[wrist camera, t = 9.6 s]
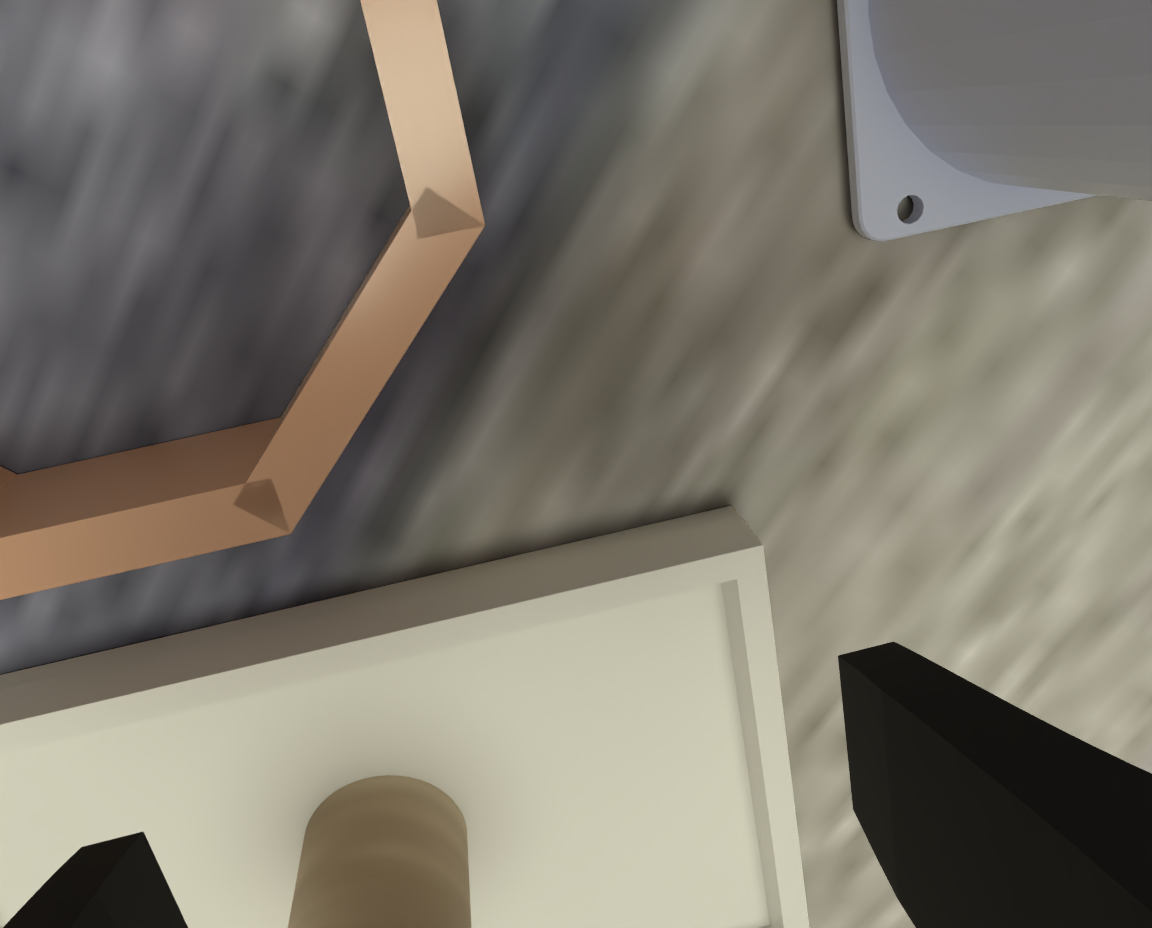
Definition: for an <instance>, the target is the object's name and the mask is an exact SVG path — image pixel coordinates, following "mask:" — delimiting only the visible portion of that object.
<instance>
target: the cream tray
mask: <svg viewBox="0 0 1152 928" xmlns="http://www.w3.org/2000/svg"><path fill="white" fill-rule="evenodd" d="M386 775H394V776H405V777H411V778H415V779H419V780H422V781H424V782H427V783H430V784H432V785H433V786H435V787H437V788H439V789H440V790H442V791H443V792H444V793H446V794H447V795H448V796H449V797H450V798H451V799H452V800H453V801H454V802H455V803H456V805H457V806H458V807H459V809H460V811H461V813H462V814H463V817H464V820H465V823H466V828H467V842H468V863H469V885H470V907H471V928H809V921H808V912H807V904H806V896H805V887H804V879H803V871H802V863H801V854H800V846H799V838H798V830H797V821H796V813H795V805H794V797H793V788H792V780H791V772H790V764H789V755H788V747H787V739H786V731H785V722H784V714H783V706H782V698H781V689H780V681H779V673H778V665H777V656H776V648H775V640H774V631H773V623H772V615H771V607H770V598H769V590H768V582H767V574H766V565H765V557H764V549H763V544H762V543H761V542H760V541H759V539H758V538H757V537H756V535H755V534H754V533H753V532H752V530H751V529H750V528H749V526H748V525H747V524H746V523H745V521H744V520H743V519H742V517H741V516H740V515H739V514H738V512H737V511H736V510H735V508H734V507H733V506H727V507H723V508H719V509H714V510H710V511H706V512H702V513H697V514H693V515H689V516H684V517H680V518H676V519H671V520H667V521H663V522H658V523H654V524H650V525H645V526H641V527H637V528H633V529H628V530H624V531H620V532H615V533H611V534H607V535H602V536H598V537H594V538H589V539H585V540H581V541H576V542H572V543H568V544H563V545H559V546H555V547H551V548H546V549H542V550H538V551H533V552H529V553H525V554H520V555H516V556H512V557H507V558H503V559H499V560H494V561H490V562H486V563H482V564H477V565H473V566H469V567H464V568H460V569H456V570H451V571H447V572H443V573H438V574H434V575H430V576H425V577H421V578H417V579H412V580H408V581H404V582H400V583H395V584H391V585H387V586H382V587H378V588H374V589H369V590H365V591H361V592H356V593H352V594H348V595H343V596H339V597H335V598H331V599H326V600H322V601H318V602H313V603H309V604H305V605H300V606H296V607H292V608H287V609H283V610H279V611H274V612H270V613H266V614H262V615H257V616H253V617H249V618H244V619H240V620H236V621H231V622H227V623H223V624H218V625H214V626H210V627H205V628H201V629H197V630H192V631H188V632H184V633H180V634H175V635H171V636H167V637H162V638H158V639H154V640H149V641H145V642H141V643H136V644H132V645H128V646H123V647H119V648H115V649H111V650H106V651H102V652H98V653H93V654H89V655H85V656H80V657H76V658H72V659H67V660H63V661H59V662H54V663H50V664H46V665H41V666H37V667H33V668H29V669H24V670H20V671H16V672H11V673H7V674H3V675H0V928H3V927H4V926H5V925H6V924H7V923H8V921H9V920H10V919H11V918H12V917H13V916H14V915H15V914H16V913H17V912H18V911H19V910H20V909H21V908H22V907H23V905H24V904H25V903H26V902H27V901H28V900H29V899H30V898H31V897H32V896H33V895H34V894H35V893H36V892H37V891H38V890H39V889H40V888H41V887H42V885H43V884H44V883H45V882H46V881H47V880H48V879H49V878H50V877H51V876H52V875H53V874H54V873H55V872H56V871H57V870H58V869H59V868H60V867H61V866H62V865H63V864H64V863H65V862H66V861H67V860H68V859H69V858H70V857H72V856H73V855H74V854H75V853H76V852H77V851H78V850H79V849H80V848H81V847H83V846H87V845H91V844H95V843H99V842H103V841H107V840H111V839H115V838H119V837H123V836H127V835H131V834H135V833H139V832H144V834H145V836H146V838H147V840H148V842H149V844H150V847H151V849H152V851H153V853H154V855H155V857H156V860H157V862H158V864H159V866H160V868H161V870H162V872H163V875H164V877H165V879H166V881H167V883H168V885H169V888H170V890H171V892H172V894H173V896H174V898H175V900H176V903H177V905H178V907H179V909H180V911H181V913H182V915H183V918H184V920H185V922H186V924H187V926H188V928H288V923H289V917H290V912H291V907H292V901H293V896H294V890H295V885H296V879H297V874H298V868H299V863H300V857H301V852H302V846H303V841H304V835H305V831H306V827H307V825H308V822H309V820H310V818H311V816H312V815H313V813H314V811H315V810H316V809H317V808H318V806H319V805H320V804H321V803H322V802H323V801H324V800H325V799H326V798H327V797H328V796H330V795H331V794H332V793H334V792H335V791H337V790H338V789H340V788H342V787H344V786H346V785H348V784H350V783H353V782H355V781H358V780H362V779H365V778H370V777H375V776H386Z"/></svg>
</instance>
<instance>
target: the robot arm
mask: <svg viewBox="0 0 1152 928" xmlns="http://www.w3.org/2000/svg"><path fill="white" fill-rule="evenodd" d="M837 8H838V22H839V37H840V51H841V65H842V79H843V93H844V107H845V122H846V136H847V150H848V164H849V178H850V193H851V207H852V219H853V223H854V227H855V229H856V230H857V231H858V232H859V234H860V235H861V236H863V237H865V238H868V239H870V240H874V241H888V240H893V239H898V238H902V237H907V236H912V235H916V234H921V233H926V232H930V231H935V230H940V229H944V228H949V227H954V226H958V225H963V224H968V223H972V222H977V221H982V220H986V219H991V218H996V217H1000V216H1005V215H1010V214H1014V213H1019V212H1024V211H1028V210H1033V209H1038V208H1043V207H1047V206H1052V205H1057V204H1061V203H1066V202H1071V201H1075V200H1080V199H1085V198H1089V197H1094V196H1099V195H1102V196H1111V197H1120V198H1129V199H1139V200H1148V201H1152V0H837ZM907 196H910V197H911V198H912V201H913V204H914V207H913V212H912V214H911V215H910V216H909V218H908V219H906V220H904V221H901V220H900V219H899V217H898V214H897V210H898V205H899V203H900V202H901V201H902V199H903V198H905V197H907ZM838 660H839V670H840V680H841V690H842V701H843V711H844V721H845V731H846V741H847V751H848V761H849V771H850V781H851V792H852V802H853V810H854V812H855V814H856V816H857V818H858V820H859V822H860V824H861V826H862V828H863V830H864V832H865V834H866V837H867V839H868V841H869V843H870V845H871V847H872V849H873V851H874V853H875V855H876V857H877V859H878V861H879V863H880V865H881V867H882V869H883V871H884V873H885V875H886V877H887V879H888V881H889V883H890V885H891V887H892V889H893V890H894V892H895V894H896V896H897V898H898V900H899V902H900V903H901V905H902V906H903V908H904V910H905V911H906V913H907V914H908V916H909V917H910V919H911V921H912V922H913V924H914V925H915V927H916V928H1152V774H1151V773H1149V772H1147V771H1145V770H1142V769H1140V768H1138V767H1136V766H1134V765H1131V764H1129V763H1127V762H1125V761H1123V760H1121V759H1119V758H1117V757H1115V756H1113V755H1111V754H1109V753H1107V752H1104V751H1102V750H1100V749H1098V748H1096V747H1094V746H1092V745H1090V744H1088V743H1086V742H1084V741H1082V740H1080V739H1078V738H1076V737H1074V736H1072V735H1070V734H1068V733H1066V732H1064V731H1062V730H1060V729H1058V728H1056V727H1054V726H1052V725H1050V724H1048V723H1047V722H1045V721H1043V720H1041V719H1039V718H1037V717H1035V716H1033V715H1031V714H1029V713H1027V712H1025V711H1023V710H1022V709H1020V708H1018V707H1016V706H1014V705H1012V704H1010V703H1008V702H1006V701H1004V700H1003V699H1001V698H999V697H997V696H995V695H993V694H991V693H990V692H988V691H986V690H984V689H982V688H980V687H978V686H977V685H975V684H973V683H971V682H969V681H967V680H965V679H964V678H962V677H960V676H958V675H956V674H954V673H953V672H951V671H949V670H947V669H945V668H943V667H941V666H940V665H938V664H936V663H934V662H932V661H930V660H928V659H927V658H925V657H923V656H921V655H919V654H917V653H915V652H913V651H911V650H909V649H907V648H905V647H903V646H901V645H899V644H897V643H895V642H890V643H886V644H883V645H879V646H875V647H871V648H867V649H863V650H859V651H855V652H851V653H847V654H843V655H839V656H838ZM3 928H188V926H187V924H186V922H185V920H184V918H183V915H182V913H181V911H180V909H179V907H178V905H177V903H176V900H175V898H174V896H173V894H172V892H171V890H170V888H169V885H168V883H167V881H166V879H165V877H164V875H163V872H162V870H161V868H160V866H159V864H158V862H157V860H156V857H155V855H154V853H153V851H152V849H151V847H150V844H149V842H148V840H147V838H146V836H145V834H144V832H139V833H135V834H131V835H127V836H123V837H119V838H115V839H111V840H107V841H103V842H99V843H95V844H91V845H87V846H83V847H81V848H80V849H79V850H78V851H77V852H76V853H75V854H74V855H73V856H72V857H70V858H69V859H68V860H67V861H66V862H65V863H64V864H63V865H62V866H61V867H60V868H59V869H58V870H57V871H56V872H55V873H54V874H53V875H52V876H51V877H50V878H49V879H48V880H47V881H46V882H45V883H44V884H43V885H42V887H41V888H40V889H39V890H38V891H37V892H36V893H35V894H34V895H33V896H32V897H31V898H30V899H29V900H28V901H27V902H26V903H25V904H24V905H23V907H22V908H21V909H20V910H19V911H18V912H17V913H16V914H15V915H14V916H13V917H12V918H11V919H10V920H9V921H8V923H7V924H6V925H5V926H4V927H3Z"/></svg>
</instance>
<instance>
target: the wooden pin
mask: <svg viewBox="0 0 1152 928" xmlns="http://www.w3.org/2000/svg"><path fill="white" fill-rule="evenodd" d="M288 928H471V907H470V885H469V863H468V842H467V828H466V823H465V820H464V817H463V814H462V813H461V811H460V809H459V807H458V806H457V805H456V803H455V802H454V801H453V800H452V799H451V798H450V797H449V796H448V795H447V794H446V793H444V792H443V791H442V790H440V789H439V788H437V787H435V786H433V785H432V784H430V783H427V782H424V781H422V780H419V779H415V778H411V777H405V776H394V775H386V776H375V777H370V778H365V779H362V780H358V781H355V782H353V783H350V784H348V785H346V786H344V787H342V788H340V789H338V790H337V791H335V792H334V793H332V794H331V795H330V796H328V797H327V798H326V799H325V800H324V801H323V802H322V803H321V804H320V805H319V806H318V808H317V809H316V810H315V811H314V813H313V815H312V816H311V818H310V820H309V822H308V825H307V827H306V831H305V835H304V841H303V846H302V852H301V857H300V863H299V868H298V874H297V879H296V885H295V890H294V896H293V901H292V907H291V912H290V917H289V923H288Z"/></svg>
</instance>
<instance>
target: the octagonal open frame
mask: <svg viewBox="0 0 1152 928" xmlns="http://www.w3.org/2000/svg"><path fill="white" fill-rule="evenodd" d="M360 1H361V5H362V9H363V13H364V17H365V21H366V25H367V29H368V34H369V38H370V42H371V46H372V50H373V54H374V58H375V62H376V66H377V71H378V75H379V79H380V83H381V87H382V91H383V95H384V99H385V104H386V108H387V112H388V116H389V120H390V124H391V128H392V132H393V137H394V141H395V145H396V149H397V153H398V157H399V161H400V165H401V169H402V174H403V178H404V182H405V186H406V190H407V194H408V198H409V202H410V205H409V206H408V208H407V209H406V211H405V213H404V214H403V216H402V218H401V219H400V221H399V223H398V224H397V226H396V228H395V229H394V231H393V233H392V234H391V236H390V237H389V239H388V241H387V242H386V244H385V246H384V247H383V249H382V251H381V252H380V254H379V256H378V257H377V259H376V261H375V262H374V264H373V266H372V267H371V269H370V270H369V272H368V274H367V275H366V277H365V279H364V280H363V282H362V284H361V285H360V287H359V289H358V290H357V292H356V294H355V295H354V297H353V298H352V300H351V302H350V303H349V305H348V307H347V308H346V310H345V312H344V313H343V315H342V317H341V318H340V320H339V322H338V323H337V325H336V326H335V328H334V330H333V331H332V333H331V335H330V336H329V338H328V340H327V341H326V343H325V345H324V346H323V348H322V350H321V351H320V353H319V354H318V356H317V358H316V359H315V361H314V363H313V364H312V366H311V368H310V369H309V371H308V373H307V374H306V376H305V378H304V379H303V381H302V382H301V384H300V386H299V387H298V389H297V391H296V392H295V394H294V396H293V397H292V399H291V401H290V402H289V404H288V406H287V407H286V409H285V411H284V412H283V414H282V415H281V417H280V418H275V419H270V420H266V421H261V422H257V423H252V424H247V425H243V426H238V427H234V428H229V429H224V430H220V431H215V432H211V433H206V434H201V435H197V436H192V437H188V438H183V439H178V440H174V441H169V442H165V443H160V444H156V445H151V446H146V447H142V448H137V449H133V450H128V451H123V452H119V453H114V454H110V455H105V456H100V457H96V458H91V459H87V460H82V461H77V462H73V463H68V464H64V465H59V466H54V467H50V468H45V469H41V470H36V471H31V472H27V473H22V474H18V475H17V474H15V473H13V472H11V471H9V470H7V469H5V468H3V467H1V466H0V600H2V599H6V598H11V597H15V596H20V595H24V594H28V593H33V592H37V591H42V590H46V589H51V588H55V587H59V586H64V585H68V584H73V583H77V582H81V581H86V580H90V579H95V578H99V577H104V576H108V575H112V574H117V573H121V572H126V571H130V570H134V569H139V568H143V567H148V566H152V565H157V564H161V563H165V562H170V561H174V560H179V559H183V558H188V557H192V556H196V555H201V554H205V553H210V552H214V551H218V550H223V549H227V548H232V547H236V546H241V545H245V544H249V543H254V542H258V541H263V540H267V539H271V538H276V537H280V536H285V535H289V534H291V533H292V531H293V530H294V528H295V526H296V525H297V523H298V522H299V520H300V518H301V517H302V515H303V514H304V512H305V510H306V509H307V507H308V506H309V504H310V503H311V501H312V499H313V498H314V496H315V495H316V493H317V491H318V490H319V488H320V487H321V485H322V484H323V482H324V480H325V479H326V477H327V476H328V474H329V472H330V471H331V469H332V468H333V466H334V465H335V463H336V461H337V460H338V458H339V457H340V455H341V453H342V452H343V450H344V449H345V447H346V445H347V444H348V442H349V441H350V439H351V438H352V436H353V434H354V433H355V431H356V430H357V428H358V426H359V425H360V423H361V422H362V420H363V419H364V417H365V415H366V414H367V412H368V411H369V409H370V407H371V406H372V404H373V403H374V401H375V399H376V398H377V396H378V395H379V393H380V392H381V390H382V388H383V387H384V385H385V384H386V382H387V380H388V379H389V377H390V376H391V374H392V373H393V371H394V369H395V368H396V366H397V365H398V363H399V361H400V360H401V358H402V357H403V355H404V353H405V352H406V350H407V349H408V347H409V346H410V344H411V342H412V341H413V339H414V338H415V336H416V334H417V333H418V331H419V330H420V328H421V327H422V325H423V323H424V322H425V320H426V319H427V317H428V315H429V314H430V312H431V311H432V309H433V307H434V306H435V304H436V303H437V301H438V300H439V298H440V296H441V295H442V293H443V292H444V290H445V288H446V287H447V285H448V284H449V282H450V281H451V279H452V277H453V276H454V274H455V273H456V271H457V269H458V268H459V266H460V265H461V263H462V261H463V260H464V258H465V257H466V255H467V254H468V252H469V250H470V249H471V247H472V246H473V244H474V242H475V241H476V239H477V238H478V236H479V235H480V233H481V231H482V230H483V228H484V227H485V222H484V218H483V213H482V208H481V204H480V199H479V194H478V190H477V185H476V180H475V176H474V171H473V166H472V162H471V157H470V153H469V148H468V143H467V139H466V134H465V129H464V125H463V120H462V115H461V111H460V106H459V101H458V97H457V92H456V87H455V83H454V78H453V74H452V69H451V64H450V60H449V55H448V50H447V46H446V41H445V36H444V32H443V27H442V22H441V18H440V13H439V8H438V4H437V0H360Z"/></svg>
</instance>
